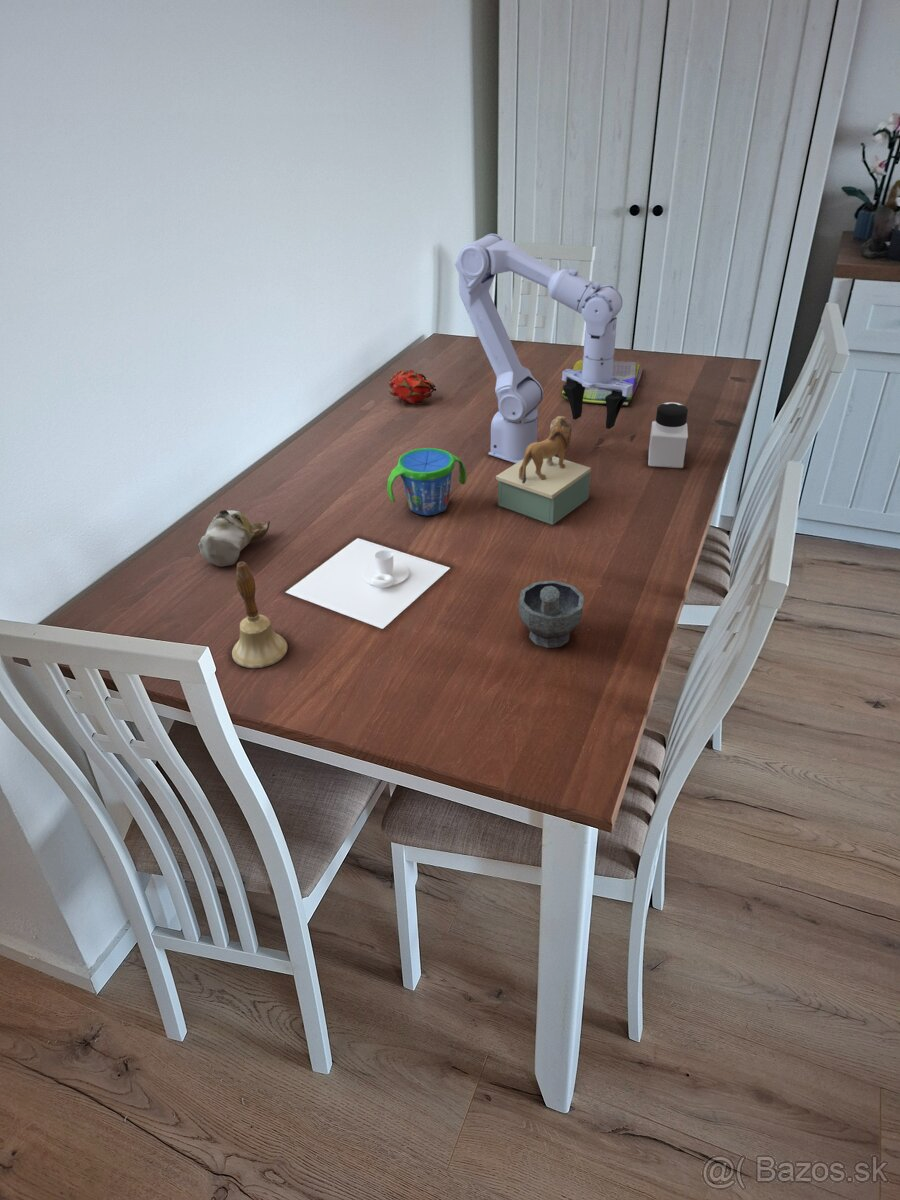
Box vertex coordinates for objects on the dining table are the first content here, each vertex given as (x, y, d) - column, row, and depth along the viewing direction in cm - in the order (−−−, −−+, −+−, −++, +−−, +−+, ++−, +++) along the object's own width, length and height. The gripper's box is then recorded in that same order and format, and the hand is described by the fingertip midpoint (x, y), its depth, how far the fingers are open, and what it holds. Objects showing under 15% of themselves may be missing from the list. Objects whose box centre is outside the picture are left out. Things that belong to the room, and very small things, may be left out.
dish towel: (557, 401, 204) (557, 390, 202) (575, 366, 223) (576, 355, 221) (630, 408, 199) (631, 396, 198) (642, 371, 218) (644, 361, 217)
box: (552, 525, 156) (554, 497, 153) (497, 505, 163) (498, 478, 160) (588, 498, 164) (590, 471, 161) (534, 480, 171) (535, 454, 167)
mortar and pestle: (522, 613, 134) (524, 549, 127) (582, 618, 133) (587, 554, 126) (514, 658, 125) (515, 591, 118) (577, 664, 124) (583, 597, 117)
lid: (551, 499, 153) (552, 495, 152) (495, 479, 159) (495, 476, 159) (590, 471, 161) (591, 467, 160) (535, 454, 167) (536, 450, 167)
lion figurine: (552, 453, 166) (554, 410, 161) (576, 460, 163) (579, 416, 158) (511, 482, 156) (512, 437, 151) (536, 490, 154) (537, 444, 148)
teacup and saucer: (389, 595, 139) (387, 575, 137) (350, 582, 143) (348, 562, 140) (418, 570, 145) (417, 550, 143) (380, 557, 149) (379, 538, 146)
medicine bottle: (683, 469, 173) (691, 413, 166) (648, 466, 175) (654, 411, 168) (682, 453, 179) (690, 400, 172) (648, 451, 180) (654, 398, 173)
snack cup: (396, 528, 157) (393, 478, 151) (381, 502, 165) (378, 454, 159) (475, 513, 161) (475, 464, 155) (457, 488, 169) (456, 441, 163)
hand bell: (285, 666, 125) (269, 577, 116) (228, 670, 125) (208, 581, 115) (289, 632, 132) (274, 545, 122) (235, 636, 131) (216, 548, 122)
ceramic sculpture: (177, 526, 142) (213, 489, 154) (186, 571, 146) (220, 531, 159) (237, 531, 140) (269, 493, 152) (244, 576, 145) (274, 536, 157)
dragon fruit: (387, 404, 209) (433, 415, 207) (379, 395, 201) (427, 406, 199) (396, 370, 209) (442, 381, 207) (388, 360, 200) (436, 371, 199)
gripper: (554, 353, 162) (551, 420, 169) (621, 369, 154) (615, 438, 162) (574, 343, 166) (570, 408, 174) (640, 358, 158) (633, 426, 166)
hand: (593, 422), depth 168 cm, fingers open, 7 cm apart
